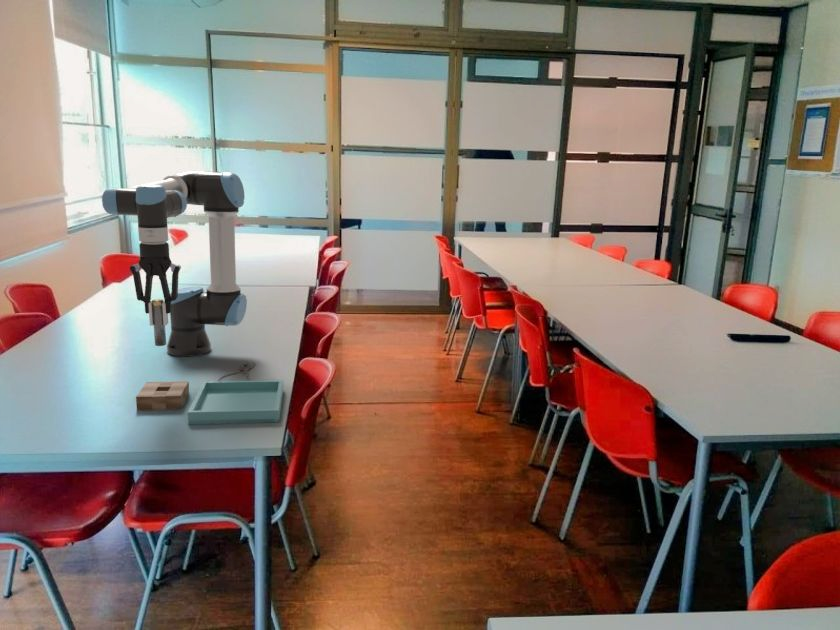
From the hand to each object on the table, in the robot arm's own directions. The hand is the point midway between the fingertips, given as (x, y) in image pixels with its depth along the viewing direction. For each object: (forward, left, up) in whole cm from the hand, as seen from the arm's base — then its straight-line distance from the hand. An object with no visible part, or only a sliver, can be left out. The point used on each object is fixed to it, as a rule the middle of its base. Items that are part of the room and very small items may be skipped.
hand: (159, 324), depth 183 cm
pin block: (0, 0, -24) cm, 24 cm away
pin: (0, 0, -6) cm, 6 cm away
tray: (+5, +22, -24) cm, 33 cm away
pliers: (-24, +18, -24) cm, 39 cm away
